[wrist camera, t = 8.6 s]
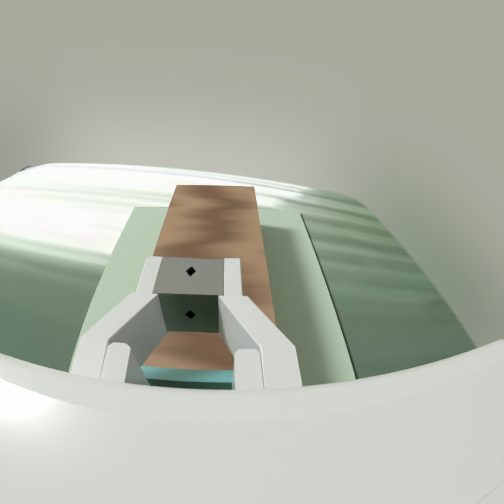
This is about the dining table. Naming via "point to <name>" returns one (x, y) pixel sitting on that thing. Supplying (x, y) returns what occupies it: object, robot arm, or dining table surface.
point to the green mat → (280, 278)
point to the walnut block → (209, 246)
